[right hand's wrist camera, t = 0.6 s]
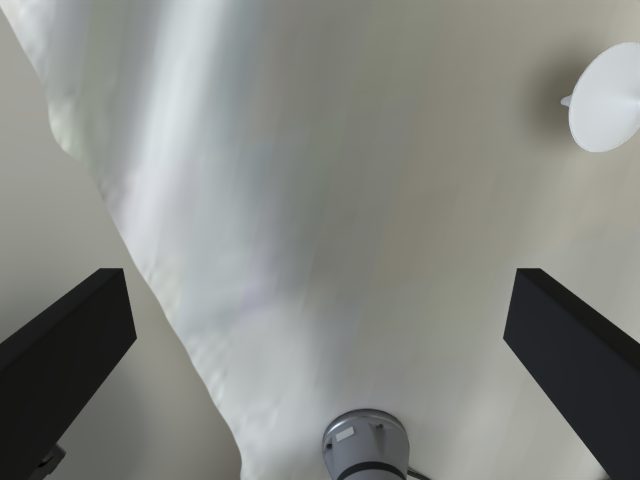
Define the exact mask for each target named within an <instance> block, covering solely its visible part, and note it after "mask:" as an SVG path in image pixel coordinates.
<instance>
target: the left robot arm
mask: <svg viewBox="0 0 640 480" xmlns="http://www.w3.org/2000/svg"><path fill="white" fill-rule="evenodd" d="M65 454H66V451H65V450H64V449H63V448H62V447H61V446H60V445H59V444H58V443H56V444H55V445H54V446H53V448H52V449H51V450H50V452H49V453H48V454H47V455H46V457H45V458H44V459H43V461H42V462H41V463H40V465H39V466H38V467H37V468H36V470H35V471H34V472H33V474H32V475H31V476H30V477H29V479H28V480H43V479H44V478H45V477H46V475H48V474H51V473H52V472H53V471H54V470H55V468H56V467H57V465H58V464H59V463H60V462H61V460H62V459H63V458H64V456H65ZM323 457H324V460H325V463H326V466H327V468H328V471H329V474H330V476H331V479H332V480H407V474H408V475H410V476H412V477H415V478H417V479H420V480H429V479H427V478H425V477H424V476H421V475H419V474H416V473H414V472H411V471H409V470H407V469H408V460H409V441H408V438H407V434H406V431H405V429H404V427H403V426H402V424H401V423H400V422H399V421H398V420H397V419H395V418H394V417H393V416H391V415H389V414H387V413H384V412H381V411H376V410H357V411H353V412H349V413H346V414H344V415H342V416H340V417H339V418H337V419H336V420H334V421H333V422H332V423H331V424H330V425H329V427H328V428H327V430H326V431H325V433H324V436H323Z"/></svg>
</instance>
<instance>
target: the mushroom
mask: <svg viewBox="0 0 640 480" xmlns="http://www.w3.org/2000/svg"><path fill="white" fill-rule="evenodd" d="M561 104H562V105H565V106H568V107H569V126H570V130H571V133H572V136H573V138H574V140H575V141H576V142H577V144H578V145H579V146H580V147H582V148H583V149H585V150H587V151H590V152H605V151H608V150H611V149H613V148H616V147H617V146H619V145H621V144H622V143H624V142H625V141H626V140H628V139H629V138H630V137H631V136H632V135H633V134H634V133H635V132H636V131H637V130H638V129H639V127H640V44H639V43H635V42H625V43H620V44H617V45H615V46H612V47H610V48H609V49H607V50H605V51H604V52H602V53H601V54H600V55H599V56H598V57H596V58H595V59H594V60H593V61H592V62H591V63H590V64H589V66H588V67H587V68H586V69H585V71H584V72H583V73H582V75H581V77H580V78H579V80H578V82H577V84H576V86H575V88H574V91H573V93H572V95H569V96H567V97H564V98H563V99H562V100H561Z"/></svg>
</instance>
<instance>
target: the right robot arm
mask: <svg viewBox="0 0 640 480" xmlns="http://www.w3.org/2000/svg"><path fill="white" fill-rule="evenodd" d="M136 339H137V336H136V331H135V326H134V321H133V316H132V311H131V306H130V302H129V297H128V292H127V287H126V282H125V277H124V272H123V268H100V269H98V270H97V271H96V272H94V273H93V274H92V275H90V276H89V277H88V278H86V279H85V280H84V281H82V282H81V283H80V284H79V285H77V286H76V287H75V288H73V289H72V290H71V291H69V292H68V293H67V294H65V295H64V296H63V297H61V298H60V299H59V300H58V301H56V302H55V303H54V304H52V305H51V306H50V307H48V308H47V309H46V310H44V311H43V312H42V313H40V314H39V315H38V316H36V317H35V318H34V319H32V320H31V321H30V322H28V323H27V324H26V325H24V326H23V327H22V328H20V329H19V330H18V331H17V332H15V333H14V334H13V335H11V336H10V337H9V338H7V339H6V340H5V341H3V342H2V343H1V344H0V480H28V479H29V477H30V476H31V475H32V474H33V472H34V471H35V470H36V468H37V467H38V466H39V465H40V463H41V462H42V461H43V459H44V458H45V457H46V455H47V454H48V453H49V452H50V450H51V449H52V448H53V446H54V445H55V444H56V443H57V441H58V440H59V439H60V437H61V436H62V435H63V433H64V432H65V431H66V430H67V428H68V427H69V426H70V424H71V423H72V422H73V421H74V419H75V418H76V417H77V415H78V414H79V413H80V411H81V410H82V409H83V408H84V406H85V405H86V404H87V402H88V401H89V400H90V399H91V397H92V396H93V395H94V393H95V392H96V391H97V389H98V388H99V387H100V386H101V384H102V383H103V382H104V380H105V379H106V378H107V376H108V375H109V374H110V373H111V371H112V370H113V369H114V367H115V366H116V365H117V364H118V362H119V361H120V360H121V358H122V357H123V356H124V355H125V353H126V352H127V351H128V349H129V348H130V347H131V345H132V344H133V343H134V342H135V340H136ZM503 339H504V340H505V342H506V343H507V344H508V345H509V347H510V348H511V349H512V351H513V352H514V353H515V355H516V356H517V357H518V358H519V360H520V361H521V362H522V364H523V365H524V366H525V367H526V369H527V370H528V371H529V373H530V374H531V375H532V377H533V378H534V379H535V380H536V382H537V383H538V384H539V386H540V387H541V388H542V389H543V391H544V392H545V393H546V395H547V396H548V397H549V399H550V400H551V401H552V402H553V404H554V405H555V406H556V408H557V409H558V410H559V411H560V413H561V414H562V415H563V417H564V418H565V419H566V421H567V422H568V423H569V424H570V426H571V427H572V428H573V430H574V431H575V432H576V433H577V435H578V436H579V437H580V439H581V440H582V441H583V443H584V444H585V445H586V446H587V448H588V449H589V450H590V452H591V453H592V454H593V455H594V457H595V458H596V459H597V461H598V462H599V463H600V465H601V466H602V467H603V468H604V470H605V471H606V472H607V474H608V475H609V476H610V477H611V479H612V480H640V344H639V343H638V342H637V341H635V340H634V339H633V338H631V337H630V336H629V335H627V334H626V333H625V332H623V331H622V330H621V329H620V328H618V327H617V326H616V325H614V324H613V323H612V322H610V321H609V320H608V319H606V318H605V317H604V316H602V315H601V314H600V313H598V312H597V311H596V310H594V309H593V308H592V307H591V306H589V305H588V304H587V303H585V302H584V301H583V300H581V299H580V298H579V297H577V296H576V295H575V294H573V293H572V292H571V291H569V290H568V289H567V288H565V287H564V286H563V285H561V284H560V283H559V282H558V281H556V280H555V279H554V278H552V277H551V276H550V275H548V274H547V273H546V272H544V271H543V270H542V269H540V268H517V272H516V277H515V282H514V287H513V292H512V296H511V301H510V306H509V311H508V316H507V321H506V326H505V331H504V336H503Z"/></svg>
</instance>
